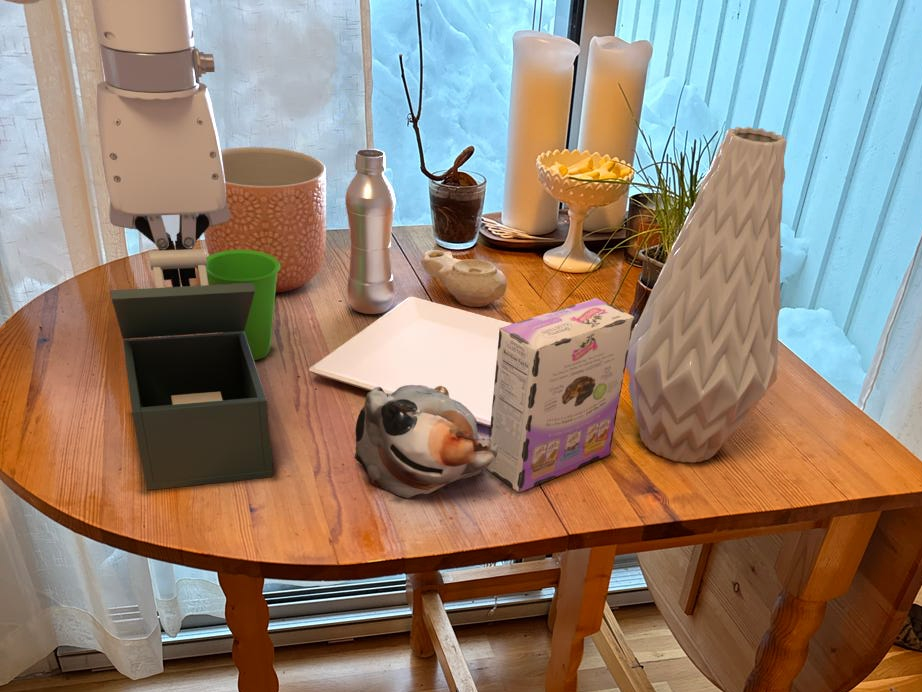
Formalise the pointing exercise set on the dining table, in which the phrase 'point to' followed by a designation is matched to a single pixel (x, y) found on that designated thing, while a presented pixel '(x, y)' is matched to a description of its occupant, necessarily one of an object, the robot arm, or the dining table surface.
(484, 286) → the oil lamp
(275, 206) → the planter
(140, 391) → the chest
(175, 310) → the lid
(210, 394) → the block
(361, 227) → the silver metal bottle
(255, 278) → the cup
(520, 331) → the candy box
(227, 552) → the dining table surface
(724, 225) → the vase
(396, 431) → the lucky cat figurine
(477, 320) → the plate
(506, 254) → the dining table surface
